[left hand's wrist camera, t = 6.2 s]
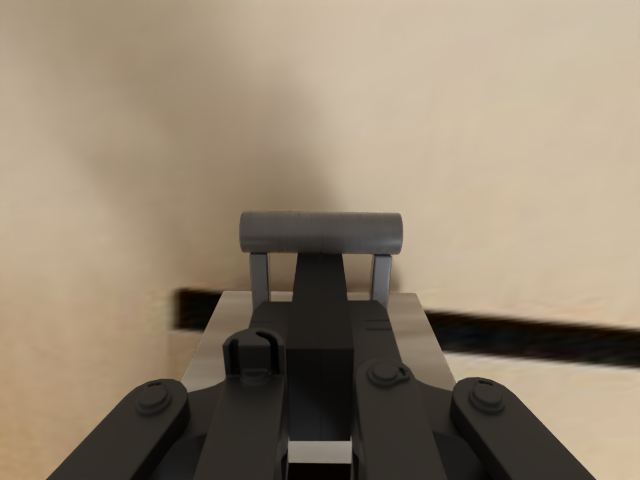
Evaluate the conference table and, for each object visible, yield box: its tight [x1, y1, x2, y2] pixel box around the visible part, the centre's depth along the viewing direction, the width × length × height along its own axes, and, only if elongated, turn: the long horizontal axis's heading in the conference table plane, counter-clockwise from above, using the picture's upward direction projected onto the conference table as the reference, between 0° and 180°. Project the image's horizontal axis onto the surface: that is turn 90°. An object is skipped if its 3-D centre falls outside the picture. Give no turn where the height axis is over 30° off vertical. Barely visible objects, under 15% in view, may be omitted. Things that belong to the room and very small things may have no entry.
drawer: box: [181, 211, 456, 480], centre depth 17 cm, size 22×9×8 cm, turn 179°
